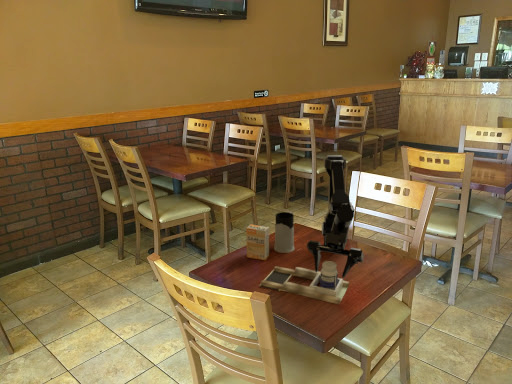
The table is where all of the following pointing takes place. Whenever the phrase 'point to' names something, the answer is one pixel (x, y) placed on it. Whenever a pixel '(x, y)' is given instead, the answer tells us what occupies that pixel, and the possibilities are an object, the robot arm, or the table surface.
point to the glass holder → (284, 232)
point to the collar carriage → (325, 290)
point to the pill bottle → (329, 275)
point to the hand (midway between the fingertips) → (329, 274)
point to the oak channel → (301, 288)
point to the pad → (342, 292)
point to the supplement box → (257, 242)
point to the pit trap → (277, 278)
